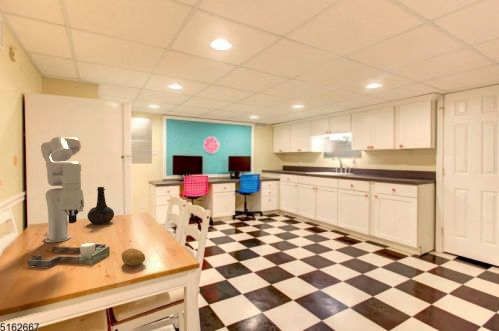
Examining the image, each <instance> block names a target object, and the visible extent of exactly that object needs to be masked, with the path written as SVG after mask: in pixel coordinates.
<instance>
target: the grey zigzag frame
mask: <svg viewBox="0 0 499 331" xmlns="http://www.w3.org/2000/svg"><path fill="white" fill-rule="evenodd" d="M51 253H55V254H58V253H59V254H81V253H80V246H79V247H78V246H51ZM110 254H111V253H110V246H108V245H107V246H106V244H105V243H96V245H95V253H94V254H92V255H91V257H82V256H81V255H80V256H79V255H78V256H77V255H75V256H74V255H58V256H56V257H53V258H51V259H49V260H46V259H45V260H44V259H43V255H42V254H31V255H30V259H28V260H27V267H28V266H34V267H33V268H46V267H48V268H49V267H50V268H52V267H53V266H55V265H58V264H60V263H64V264H89V265H91V264H93V265H94V264H95V263H97V262H98V261H101V260H102V259H104V258H105V257H108V256H109V255H110ZM50 268H49V269H50Z"/></svg>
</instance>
